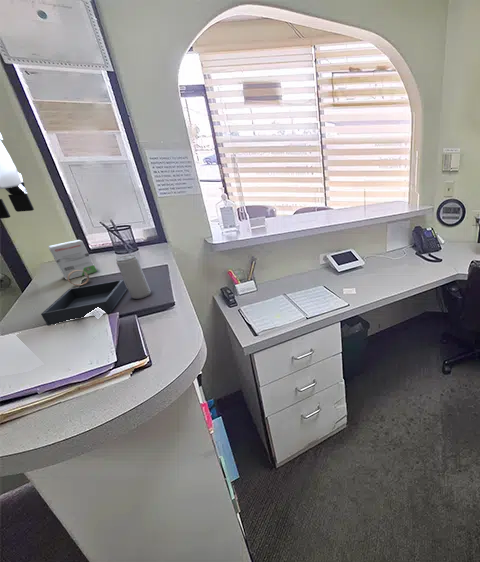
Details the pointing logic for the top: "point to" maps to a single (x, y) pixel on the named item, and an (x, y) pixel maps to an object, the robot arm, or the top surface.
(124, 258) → the beverage can
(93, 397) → the top surface
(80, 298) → the desk tray
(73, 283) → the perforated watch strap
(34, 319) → the top surface
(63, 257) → the ink box
